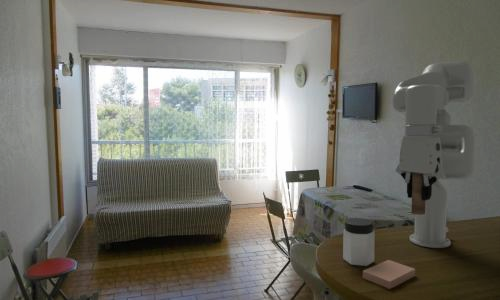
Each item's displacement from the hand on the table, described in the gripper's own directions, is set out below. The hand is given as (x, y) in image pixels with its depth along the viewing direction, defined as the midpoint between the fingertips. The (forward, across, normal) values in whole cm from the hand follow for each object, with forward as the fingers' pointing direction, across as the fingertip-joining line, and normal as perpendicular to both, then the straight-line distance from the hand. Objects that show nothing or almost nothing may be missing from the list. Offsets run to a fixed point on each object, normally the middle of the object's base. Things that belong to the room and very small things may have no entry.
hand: (418, 197), depth 98 cm
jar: (+21, +14, +7) cm, 26 cm away
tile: (+20, +2, +4) cm, 20 cm away
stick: (+4, 0, 0) cm, 4 cm away
